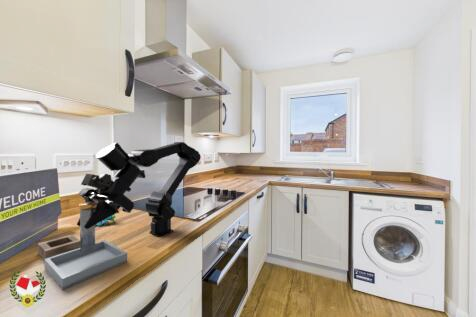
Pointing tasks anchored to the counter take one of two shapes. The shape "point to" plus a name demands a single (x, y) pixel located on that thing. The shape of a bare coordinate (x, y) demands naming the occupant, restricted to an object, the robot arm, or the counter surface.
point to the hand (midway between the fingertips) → (81, 226)
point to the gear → (107, 219)
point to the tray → (84, 263)
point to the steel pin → (85, 234)
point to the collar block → (58, 246)
